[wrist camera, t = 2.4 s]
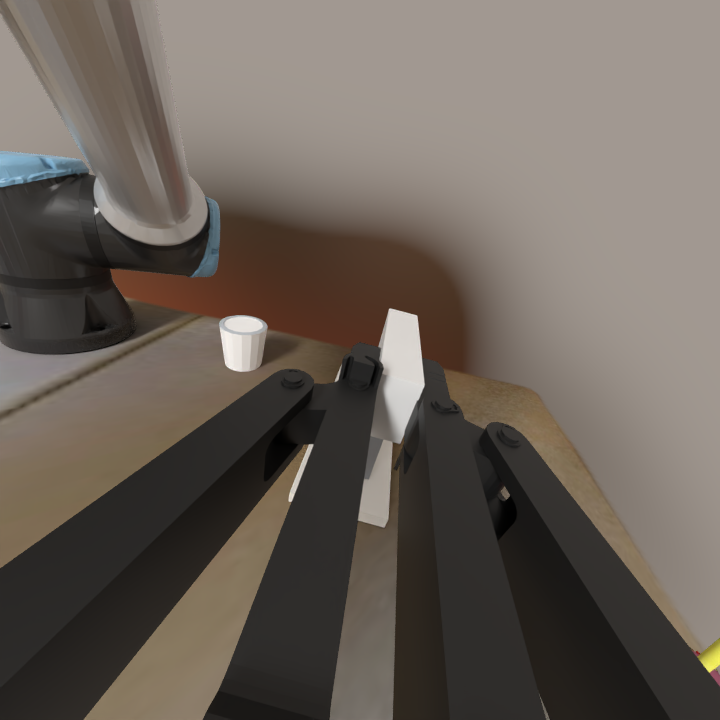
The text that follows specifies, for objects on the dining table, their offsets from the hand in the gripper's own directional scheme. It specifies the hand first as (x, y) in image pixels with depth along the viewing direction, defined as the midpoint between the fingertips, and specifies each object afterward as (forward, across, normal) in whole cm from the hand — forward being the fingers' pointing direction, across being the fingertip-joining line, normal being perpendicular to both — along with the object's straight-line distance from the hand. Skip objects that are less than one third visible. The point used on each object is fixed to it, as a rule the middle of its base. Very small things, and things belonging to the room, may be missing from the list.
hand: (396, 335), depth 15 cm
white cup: (+23, -21, -22) cm, 38 cm away
